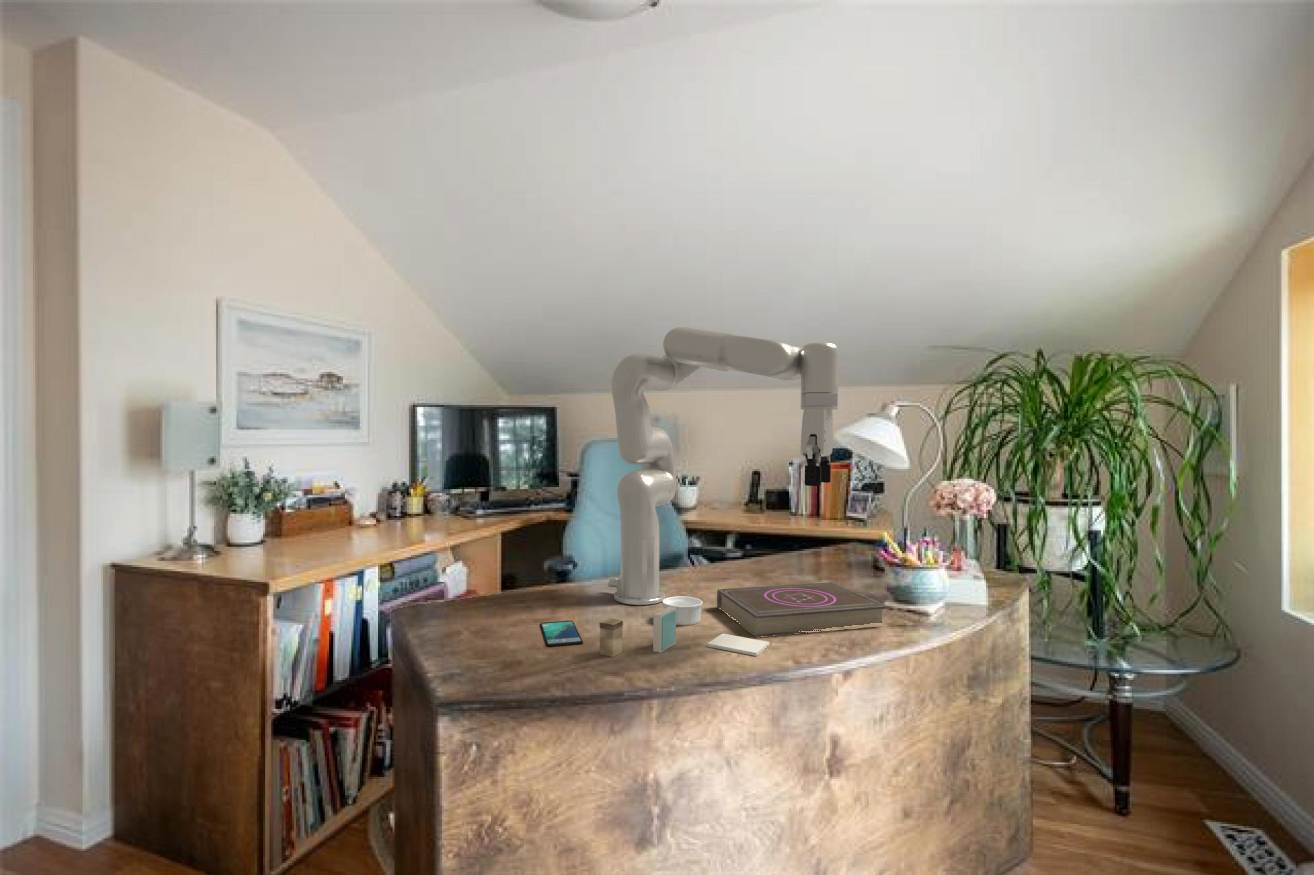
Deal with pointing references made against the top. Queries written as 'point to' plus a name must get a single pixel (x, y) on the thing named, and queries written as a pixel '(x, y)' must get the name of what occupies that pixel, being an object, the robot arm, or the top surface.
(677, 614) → the ramekin
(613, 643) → the small cardboard box
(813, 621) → the book
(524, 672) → the top surface
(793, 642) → the top surface
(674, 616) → the tile
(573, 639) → the smartphone
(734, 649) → the mat
